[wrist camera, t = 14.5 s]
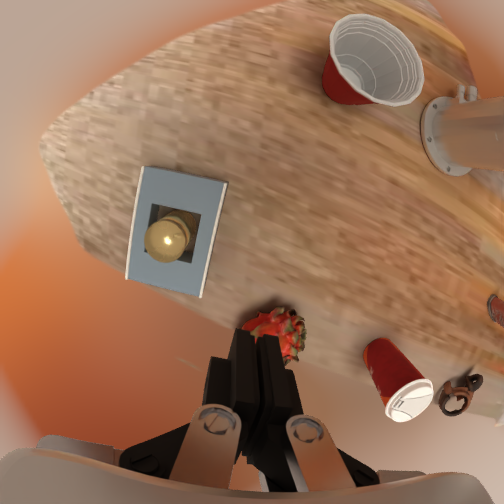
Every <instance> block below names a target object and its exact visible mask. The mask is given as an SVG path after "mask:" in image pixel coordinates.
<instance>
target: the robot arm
mask: <svg viewBox="0 0 504 504" xmlns="http://www.w3.org/2000/svg"><path fill="white" fill-rule="evenodd" d="M464 95H465V87H464V86H463V85H460V84H458V85H457V96H456V97H455V98H452V97H447V96H442V97H438V98H435V99H433V100H431V101H430V102H429V103H428V104H427V106H426V107H425V109H424V112H423V114H422V119H421V136H422V141H423V145H424V148H425V150H426V153H427V155H428V157H429V159H430V160H431V162H432V163H433V164H434V166H435V167H436V168H437V169H438V170H440V171H441V172H443V173H444V174H446V175H449V176H456V177H457V176H463V175H465V174H467V173H468V172H470V171H471V170H472V168H478V169H487V170H496V171H503V172H504V96H501V97H495V98H487V99H481V100H476V99H477V88H476V87H474V86H472V85H468V86H467V91H466V96H467V98H466V100H465V99H464ZM241 451H242V456H247V464H252V465H254V466H255V467H256V468H257V469H258V470H259V479H260V483H261V487H262V491H263V492H255V491H241V490H230V489H229V485H230V480H231V475H232V470H233V465H234V464H236V461H237V459H238V457H239V455H240V453H241ZM0 504H494V502H493V501H492V499H491V497H490V495H489V494H488V492H487V491H486V489H485V488H484V486H483V485H482V484H481V483H480V481H479V480H478V479H477V478H476V477H474V476H472V475H469V474H465V473H457V472H444V473H443V472H442V473H434V474H428V475H426V474H425V473H423V472H419V471H389V470H378V471H377V472H375V471H374V470H372V469H371V468H370V467H368V466H366V465H365V464H363V463H361V462H360V461H358V460H356V459H354V458H352V457H351V456H349V455H348V454H346V453H345V452H343V451H341V450H340V449H338V448H337V447H336V446H335V444H334V441H333V440H332V438H331V435H330V433H329V432H328V429H327V428H326V426H325V425H324V423H322V422H321V421H320V420H319V419H317V418H315V417H312V416H309V415H304V413H303V409H302V406H301V401H300V397H299V393H298V389H297V385H296V381H295V376H294V373H293V371H292V370H289V369H285V366H284V361H283V357H282V352H281V347H280V343H279V338H278V336H274V335H269V334H263V336H262V337H260V336H258V338H257V340H256V343H255V336H254V335H250V331H247V330H242V329H237V328H236V330H235V333H234V337H233V340H232V344H231V347H230V352H229V355H228V359H222V358H218V357H212V356H211V359H210V363H209V367H208V372H207V377H206V382H205V388H204V394H203V403H202V406H201V407H200V408H198V409H197V410H196V411H195V413H194V415H193V418H192V420H191V422H190V423H188V424H186V425H184V426H181V427H179V428H177V429H175V430H172V431H170V432H167V433H165V434H163V435H160V436H158V437H155V438H153V439H151V440H148V441H145V442H143V443H140V444H137V445H134V446H132V447H130V448H128V449H126V450H119V449H114V447H113V446H109V445H103V444H96V443H91V442H86V441H81V440H76V439H71V438H67V437H63V436H58V435H48V436H44V437H43V438H42V439H40V440H39V442H38V444H37V447H36V448H22V449H16V450H14V451H12V452H10V453H8V454H7V455H5V456H4V457H3V458H2V459H1V460H0Z"/></svg>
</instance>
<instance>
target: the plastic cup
mask: <svg viewBox="0 0 504 504" xmlns="http://www.w3.org/2000/svg"><path fill="white" fill-rule="evenodd" d="M329 42H330V50H329V56H328V58H327V61H326V64H325V67H324V72H323V75H322V86H323V88H324V90H325V93H326V94H327V95H328V96H329V97H330V98H331V99H332V100H334V101H336V102H337V103H340V104H345V105H353V104H355V105H361V104H373V103H376V104H384V105H388V106H392V107H396V106H400V105H405V104H410V103H411V102H412V101H413V100H414V99H415V98H416V97H417V96H418V95H420V93H421V90H422V86H423V82H424V73H423V66H422V61H421V59H420V57H419V55H418V53H417V51H416V49H415V47H414V45H413V44H412V43H411V42H410V41H409V39H408V38H407V37H406V36H405V35H404V34H403V33H402V32H401V31H400V30H399V29H398V28H396V27H395V26H393V25H392V24H390V23H389V22H387V21H386V20H384V19H381V18H378V17H375V16H372V15H368V14H349V15H347V16H346V17H344V18H342V19H340V20H339V21H337V22H336V23H335V25H334V27H333V29H332V31H331V33H330V35H329Z"/></svg>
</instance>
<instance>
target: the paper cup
mask: <svg viewBox="0 0 504 504" xmlns="http://www.w3.org/2000/svg"><path fill="white" fill-rule="evenodd" d="M363 358H364V361H365V363H366V366H367V368H368V370H369V372H370V375H371V377H372V379H373V381H374V383H375V385H376V388H377V390H378V392H379V394H380V396H381V398H382V401H383V403H384V405H385V407H386V409H385V412H386V415H387V416H388V417H390V418H392V419H393V420H394V421H396V422H404V421H407V420H410V419H412V418H414V417H416V416H417V415H419V414H420V413H421V412H423V411H424V410H425V409H426V408H427V406H428V405H429V404H430V402H431V400H432V398H433V386H432V383H431V381H430V380H428V379H425V378H424V377H423V376H422V374H421V373H420V372H419V371H418V370H417V369H416V368H415V367H414V365H413V364H412V363H411V362H410V361H409V360H408V359H407V358H406V357H405V356H404V354H403V353H402V352H401V351H400V350H399V349H398V348H397V347H396V346H395V345H394V344H393V343H392V342H391V341H390V340H389V339H387V338H379V339H376V340H374V341H372V342H371V343H370V344H369V345H368V346H367V347H366V349H365V351H364V354H363Z"/></svg>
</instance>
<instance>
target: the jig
mask: <svg viewBox="0 0 504 504" xmlns="http://www.w3.org/2000/svg"><path fill="white" fill-rule="evenodd" d="M227 186H228V182H227V181H222V180H218V179H213V178H209V177H204V176H200V175H195V174H190V173H186V172H181V171H176V170H171V169H166V168H161V167H155V166H142V168H141V173H140V178H139V183H138V188H137V193H136V199H135V205H134V211H133V218H132V224H131V231H130V239H129V247H128V255H127V264H126V275H125V279H131V280H134V281H138V282H142V283H146V284H150V285H154V286H157V287H161V288H165V289H169V290H173V291H177V292H182V293H186V294H190V295H194V296H198V297H199V298H202V294H203V291H204V287H205V283H206V279H207V274H208V269H209V265H210V260H211V255H212V251H213V246H214V242H215V237H216V233H217V229H218V224H219V220H220V216H221V211H222V207H223V203H224V199H225V195H226V191H227ZM160 205H162V206H167V207H171V208H176V209H180V210H185V211H189V212H194V213H198V214H202V215H201V219H200V224H199V229H198V234H197V238H196V243H195V248H194V253H191V252H187V251H184V252H183V254H182V255H181V256H180V257H179V258H178V259H177V260H175V261H173V262H169V263H163V262H159V261H157V260H155V259H153V258H152V257H151V256H150V255H149V254H148V252H147V250H146V248H145V244H144V236H145V233H146V231H147V229H148V228H149V227H150V226H151V225H152V224H153V223H155V222H156V221H157V217H158V212H159V206H160Z"/></svg>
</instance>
